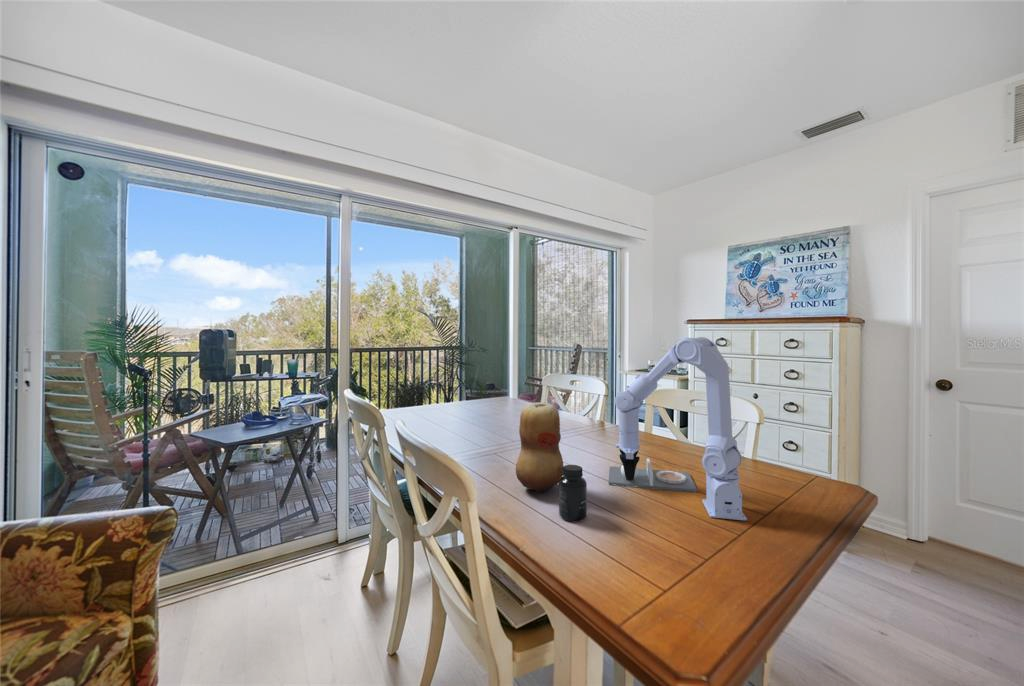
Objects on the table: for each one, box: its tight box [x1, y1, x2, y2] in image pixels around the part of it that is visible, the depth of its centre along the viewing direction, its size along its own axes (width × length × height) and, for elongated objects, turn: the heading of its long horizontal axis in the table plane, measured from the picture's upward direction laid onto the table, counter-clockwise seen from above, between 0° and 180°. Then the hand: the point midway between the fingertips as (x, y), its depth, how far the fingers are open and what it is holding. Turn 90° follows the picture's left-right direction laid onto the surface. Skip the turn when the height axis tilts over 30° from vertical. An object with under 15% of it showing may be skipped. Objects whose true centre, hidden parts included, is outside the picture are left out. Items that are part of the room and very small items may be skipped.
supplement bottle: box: [558, 464, 588, 523], centre depth 94 cm, size 7×7×12 cm
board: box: [608, 458, 698, 493], centre depth 117 cm, size 14×24×4 cm, turn 74°
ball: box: [620, 464, 639, 480], centre depth 116 cm, size 5×5×5 cm
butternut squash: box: [515, 401, 564, 492], centre depth 111 cm, size 14×13×25 cm
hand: (629, 475), depth 116 cm, fingers open, 5 cm apart
